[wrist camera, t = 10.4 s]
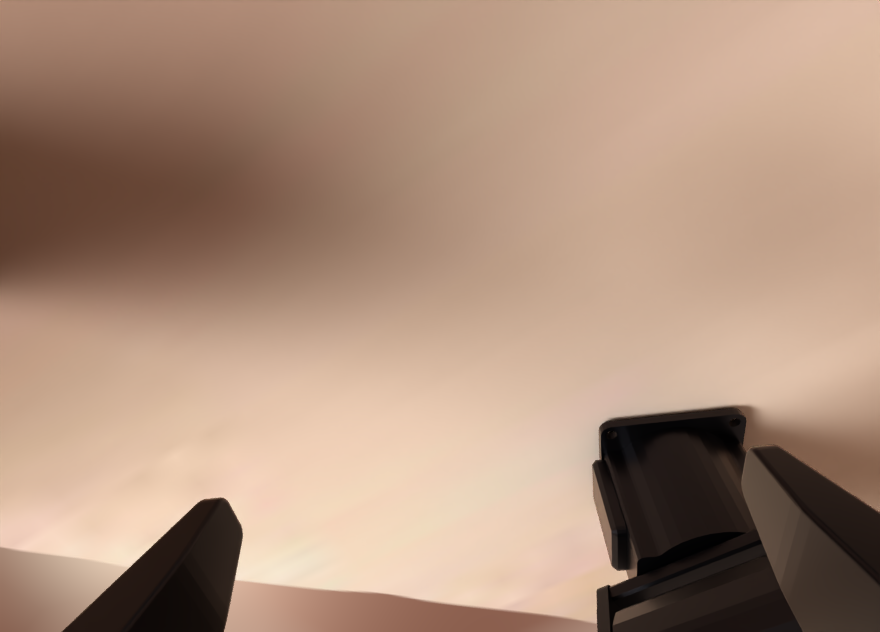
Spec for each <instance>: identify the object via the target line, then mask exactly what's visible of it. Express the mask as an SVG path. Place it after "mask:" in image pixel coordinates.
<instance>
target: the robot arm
mask: <svg viewBox="0 0 880 632" xmlns="http://www.w3.org/2000/svg"><path fill="white" fill-rule="evenodd" d="M732 419H734V420H732ZM731 420H732V421H731ZM745 427H746V418H745V416H744V415H743V413H742V412H741V411H740V410H739V409H734V408H731V409H722V410H712V411H703V412H693V413H684V414H674V415H665V416H655V417H646V418H636V419H627V420H617V421H609V422H605V423H603V424H602V425H601V426H600V427H599V455H600V460H596V461H595V462H594V463H593V465H592V470H593V496H594V501H595V505H596V509H597V513H598V516H599V520H600V524H601V528H602V531H603V535H604V539H605V543H606V546H607V550H608V554H609V558H610V561H611V565H612V567H614V568H615V569H616V570H617V571H621V570H626V571H627V574H628V578H629V579H628V580H626V581H623V582H621V583H618V584H616V585H613V586H610V585H607V586H604V587H602V588H599V589H597V628H598V632H880V512H878V511H877V510H875V509H874V508H872V507H871V506H869V505H867V504H866V503H864V502H863V501H861V500H860V499H858V498H857V497H855V496H854V495H852V494H851V493H849V492H848V491H846V490H845V489H843V488H842V487H840V486H839V485H837V484H836V483H834V482H833V481H831V480H830V479H828V478H827V477H825V476H824V475H822V474H820V473H819V472H817V471H816V470H814V469H813V468H811V467H810V466H808V465H807V464H805V463H804V462H802V461H801V460H799V459H798V458H796V457H795V456H793V455H792V454H790V453H789V452H787V451H786V450H784V449H783V448H781V447H779V446H776V445H764V446H753V447H750V448H749V449H748V450H747V452H746V451H745V449H744V447H743V439H744V433H745ZM610 431H614V432H612V433H608V432H610ZM242 538H243V532H242V527H241V524H240V522H239V520H238V519H237V517H236V515H235V513H234V511H233V509H232V508H231V506H230V504H229V502H228V501H227V500H226V499H224V498H211V499H204V500H202V501H200V502H199V503H197V504H196V505H195V506H194V507H193V508H192V509H191V510H190V511H189V512H188V513H187V514H186V515H185V516H184V517H182V518H181V519H180V520H179V521H178V522H177V523H176V524H175V525H174V526H173V527H172V528H171V529H170V530H169V531H168V532H167V533H166V534H164V535H163V536H162V537H161V538H160V539H159V540H158V541H157V542H156V543H155V544H154V545H153V546H152V547H151V548H150V549H149V550H148V551H147V552H145V553H144V554H143V555H142V556H141V557H140V558H139V559H138V560H137V561H136V562H135V563H134V564H133V565H132V566H131V567H130V568H129V569H128V570H127V571H125V572H124V573H123V574H122V575H121V576H120V577H119V578H118V579H117V580H116V581H115V582H114V583H113V584H112V585H111V586H110V587H109V588H107V589H106V590H105V591H104V592H103V593H102V594H101V595H100V596H99V597H98V598H97V599H96V600H95V601H94V602H93V603H92V604H91V605H89V606H88V607H87V608H86V609H85V610H84V611H83V612H82V613H81V614H80V615H79V616H78V617H77V618H76V619H75V620H74V621H73V622H72V623H71V624H69V625H68V626H67V627H66V628H65V629H64V630H63V631H62V632H224V629H225V625H226V621H227V616H228V611H229V606H230V602H231V596H232V591H233V586H234V581H235V576H236V570H237V565H238V560H239V555H240V550H241V544H242Z"/></svg>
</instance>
